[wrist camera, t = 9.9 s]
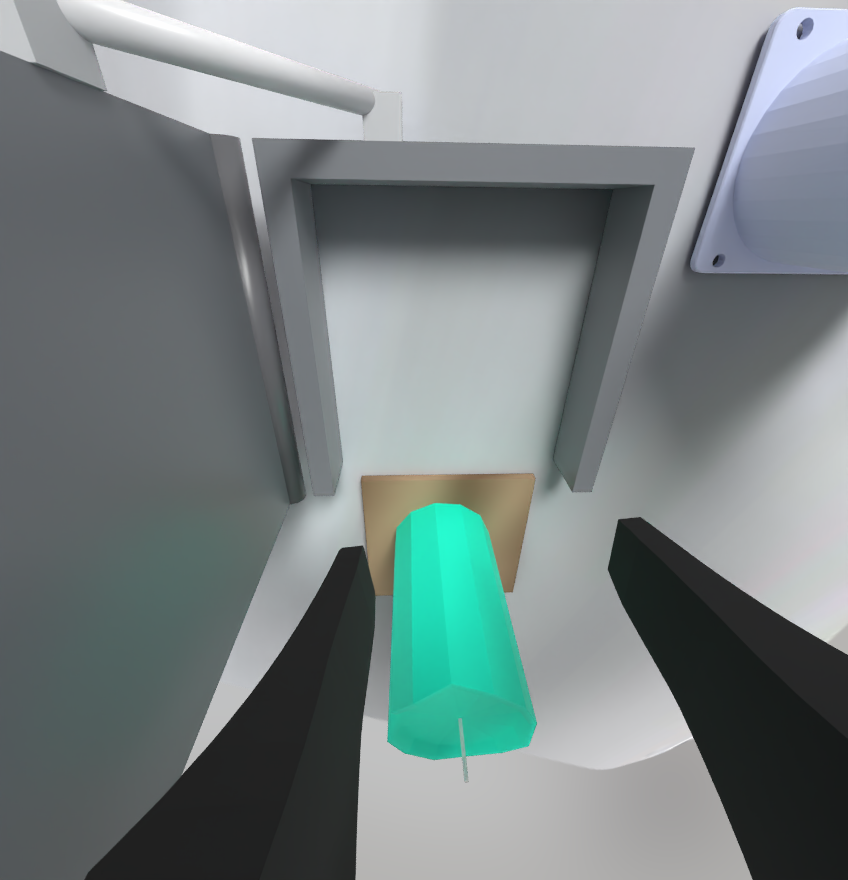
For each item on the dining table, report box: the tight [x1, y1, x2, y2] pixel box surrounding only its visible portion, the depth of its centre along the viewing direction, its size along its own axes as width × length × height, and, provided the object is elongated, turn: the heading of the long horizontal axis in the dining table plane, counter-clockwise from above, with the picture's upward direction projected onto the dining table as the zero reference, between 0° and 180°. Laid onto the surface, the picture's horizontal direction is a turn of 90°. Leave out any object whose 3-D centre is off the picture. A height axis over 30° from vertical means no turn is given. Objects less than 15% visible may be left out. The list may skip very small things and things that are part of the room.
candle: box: [387, 503, 537, 783], centre depth 19 cm, size 6×6×12 cm
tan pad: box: [361, 474, 535, 596], centre depth 25 cm, size 10×10×1 cm
